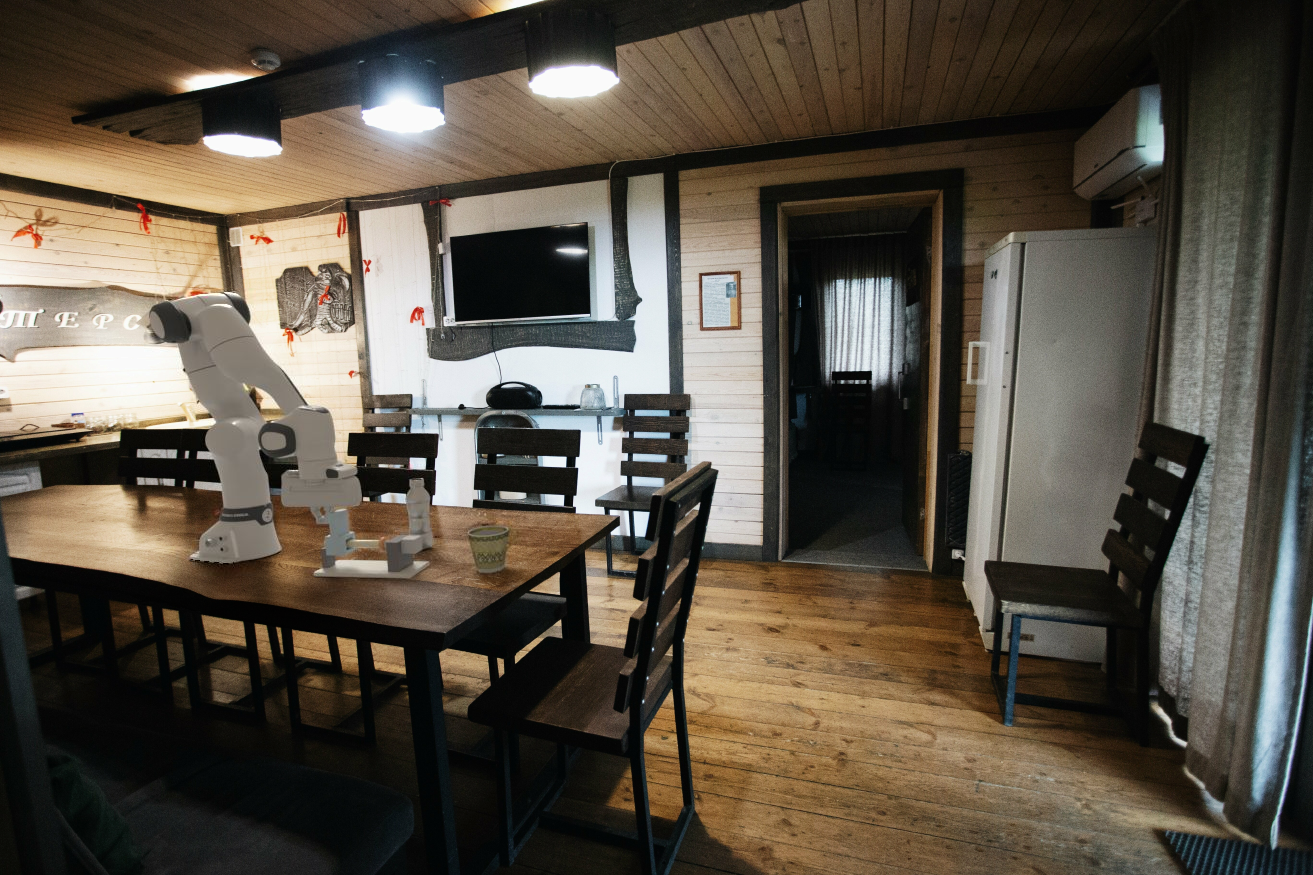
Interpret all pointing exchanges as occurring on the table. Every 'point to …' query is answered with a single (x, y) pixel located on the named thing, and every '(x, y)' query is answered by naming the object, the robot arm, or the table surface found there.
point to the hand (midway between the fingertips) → (323, 523)
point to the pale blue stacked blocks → (338, 534)
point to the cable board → (394, 567)
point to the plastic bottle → (419, 512)
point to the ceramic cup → (490, 547)
